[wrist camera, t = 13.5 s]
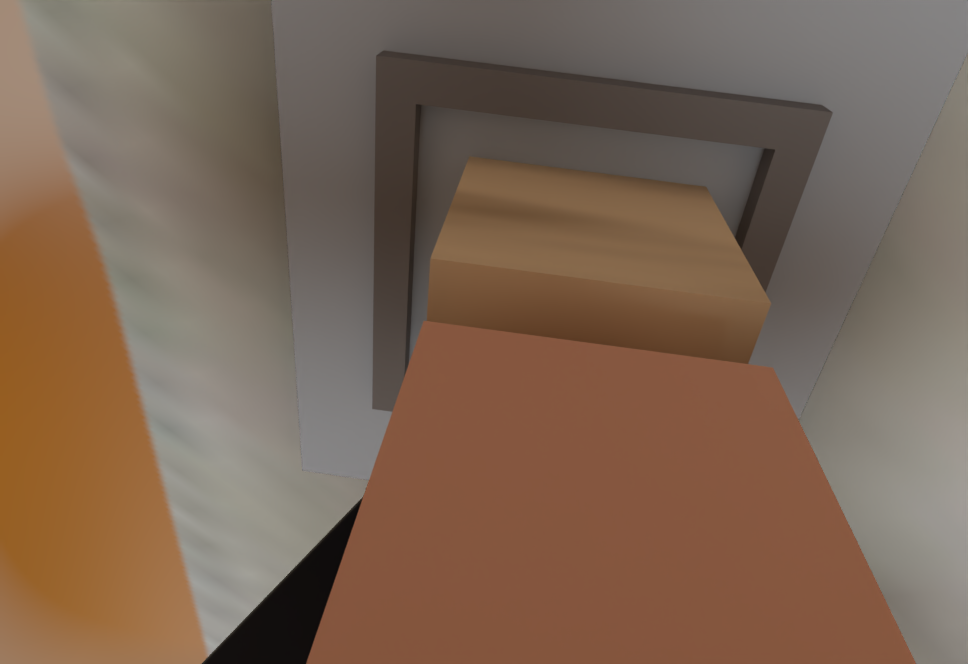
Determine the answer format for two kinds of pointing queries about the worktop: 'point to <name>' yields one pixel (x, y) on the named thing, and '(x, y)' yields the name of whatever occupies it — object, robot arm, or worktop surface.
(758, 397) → the terracotta block
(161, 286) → the worktop surface
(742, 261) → the oak cube
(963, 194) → the worktop surface
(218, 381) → the worktop surface
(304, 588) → the robot arm
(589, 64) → the grey flat square plate
